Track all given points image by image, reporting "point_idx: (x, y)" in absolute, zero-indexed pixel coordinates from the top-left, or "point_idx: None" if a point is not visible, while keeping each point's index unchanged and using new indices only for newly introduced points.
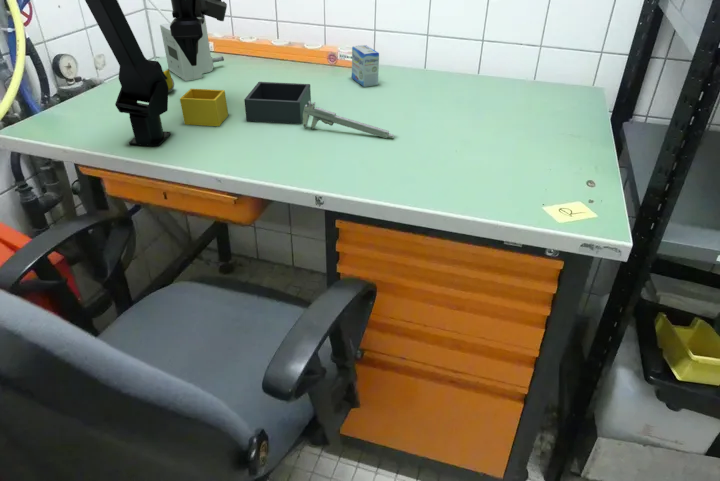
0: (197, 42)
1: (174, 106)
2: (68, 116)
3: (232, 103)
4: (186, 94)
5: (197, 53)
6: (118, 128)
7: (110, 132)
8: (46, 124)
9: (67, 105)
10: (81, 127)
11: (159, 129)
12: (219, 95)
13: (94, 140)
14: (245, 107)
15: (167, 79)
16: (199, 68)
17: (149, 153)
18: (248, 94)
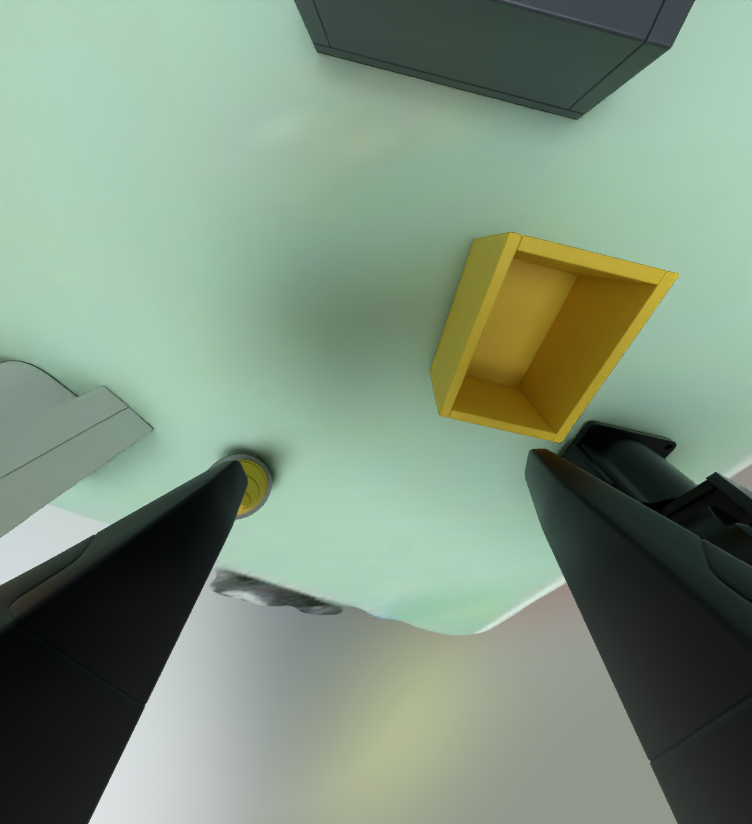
0: (173, 515)
1: (360, 434)
2: (402, 591)
3: (335, 236)
4: (513, 424)
5: (238, 461)
6: (491, 524)
7: (511, 534)
8: (436, 607)
9: (346, 596)
10: (465, 572)
11: (664, 459)
12: (602, 256)
13: (546, 551)
14: (629, 77)
15: (254, 486)
16: (75, 405)
17: (701, 453)
18: (570, 15)
